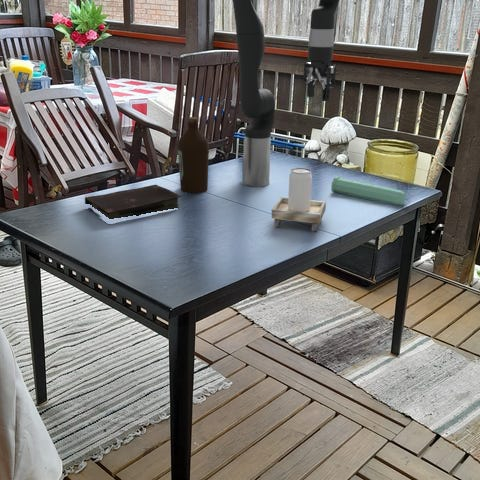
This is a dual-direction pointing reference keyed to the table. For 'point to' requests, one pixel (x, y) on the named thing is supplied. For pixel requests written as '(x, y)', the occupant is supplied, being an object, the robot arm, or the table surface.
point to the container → (368, 191)
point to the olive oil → (193, 159)
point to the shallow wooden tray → (298, 213)
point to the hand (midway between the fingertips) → (317, 98)
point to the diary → (134, 201)
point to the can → (300, 190)
